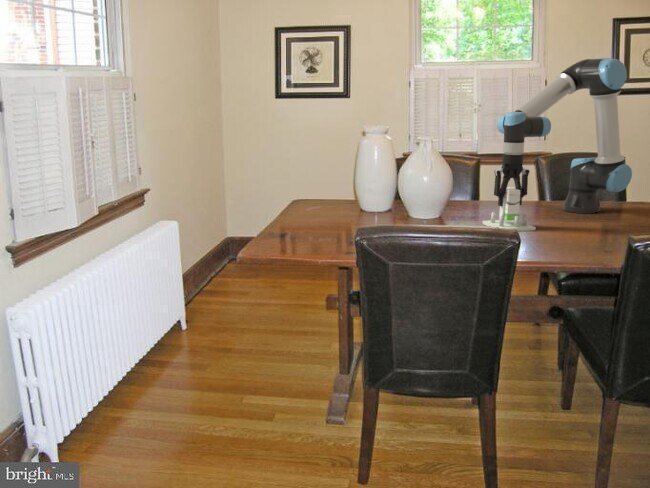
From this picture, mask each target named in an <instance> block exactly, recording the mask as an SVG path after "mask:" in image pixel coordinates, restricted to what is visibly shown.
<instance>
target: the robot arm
mask: <svg viewBox="0 0 650 488" xmlns="http://www.w3.org/2000/svg"><path fill="white" fill-rule="evenodd" d="M627 76H628V71H627V69H626V65H625V64H624V63H623V62H621V60H619V59H617V58H611V57H610V58H609V57H606V58H587V59H582V60H579V61H577V62H575V63H574V64H571V65H570V66H568V67H566V69H564V70H563V71H562V72H560V73H559V74H557V76H556V78H555V79H554V81H553V82H551V83H550V84H548V85H547V86H546V87H544V88H543V89H541V90H540V91H539V92H538V93H537V94H536V95H534V96H533V97H532V98H530V99H529V100H528V101H527V102H525V103H524V104H523V105H521V106H519V108H517V109H516V110H515V111H509V112H506V113H505V115H501V116H500V117H499V118H498V120H497V123H496V128H497V129H498V132H499V133H501V134H503V148H502V153H503V154H502V162H501V163H502V166H501V168H499V169H494V171H493V172H494V177H495V178H494V188H493V196H495V197H498V202H497V205H498V206H499V213H500V214H501V215H505V199H506V198H504V194H505V191H506V188H507V187H508V185H509V182H510V180H511V179H513V181H514V186H515V187H514V188H516V189H518V190H520V206H522V204H523V202H522V201H523V198H524V196H527V195H528V182H529V181H528V179H529V174H530V169H526V168H524V167H523V162H524V155H523V154H524V152H525V151H524V150H525V139H526V138H541V137H546V136H548V135H549V134H550V132H551V130H552V122H551V120H550V119H549V118H548V117H546V116H541V115H542V114H543V113H546V112H547V111H548V110H549V109H550V108H552V107H553V106H554V105H555V104H557V103H558V102H559V101H561V100H562V99H563V98H565V97H566V96H568V95H572V94H574V93H576V91H579V90H584V89H587V90H588V89H589V96H590V97H591V98H592V99H593V101H594V102H593V103H594V104H593V105H594V115H595V117H594V118H595V129H596V130H595V133H596V146H597V147H596V149H597V156H596V157H584V158H583V157H579V158H574V159H572V161H571V164H570V170H569V171H570V173H569V186H568V194H567V196H566V198H565V201H564V203H563V207H562V208H563V211H565V212H570V213H576V214H596V213H595V212H598V213H600V212H601V203H600V200H599V195H598V190H600V191H605V192H609V193H610V192H611V193H613V192H614V193H619V192H620V193H621V192H623V191H624V190H625V189H627V187H628V186H629V184H630V183H631V180H632V176H633V170H632V168H631V167H630V165H629V164H628V163H627V164H626V159H625V156H623V154H622V153H621V142H620V141H621V140H620V125H619V124H620V122H619V108H618V107H619V106H618V96H619V94H620V93H621V92H622V88H623V87H624V85H625V84H626V81H627V79H628V78H627ZM521 174H522V175H521ZM502 175H503V177H502ZM599 211H600V212H599Z"/></svg>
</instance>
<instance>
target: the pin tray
mask: <svg viewBox="0 0 650 488" xmlns="http://www.w3.org/2000/svg"><path fill="white" fill-rule="evenodd" d="M496 213H497V212H496V211H494V212H493V211H492V212H491V216H490V217H491V218H490V220H482V225H485V226H487V227H489V226H491V227H499V228H506V229H514V230H517V231H516V232H527V231H528V232H531V231H536V226H533V225H531V224H528V214H522V220H521V221H520V216H519V217H518V216H515V220H505V219H504V216H502V215H501V216H500V212H499V213H498V215H499V216H498V219H496V216H497V214H496ZM491 227H490V228H491Z"/></svg>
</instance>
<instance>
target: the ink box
mask: <svg viewBox="0 0 650 488" xmlns="http://www.w3.org/2000/svg"><path fill="white" fill-rule="evenodd" d="M504 198H506V199H505V215H502V216H504V220H515V216H518V217H519V218H520V206H521V205H520V190H518V189H516V188H515V187H512V186H511V187H509V186H507V188H506V191H505V194H504ZM500 216H501V214H500Z"/></svg>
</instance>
